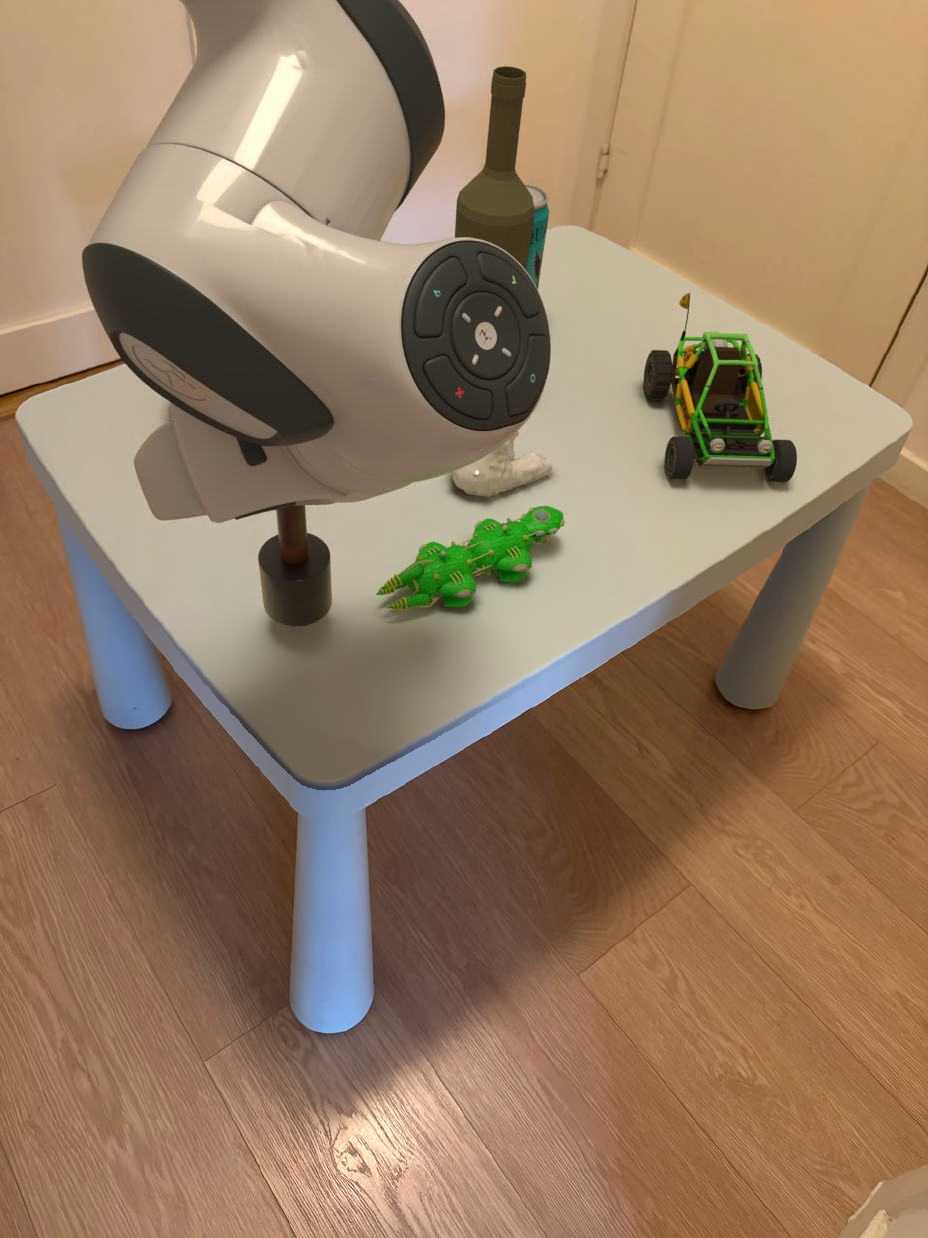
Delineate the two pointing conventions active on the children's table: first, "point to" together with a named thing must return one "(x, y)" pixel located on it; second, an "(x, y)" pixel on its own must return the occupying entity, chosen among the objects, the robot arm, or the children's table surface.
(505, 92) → the bottle
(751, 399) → the motor vehicle
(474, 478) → the sitting furry creature
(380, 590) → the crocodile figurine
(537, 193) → the beverage can
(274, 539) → the rod on round base
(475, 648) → the children's table surface
